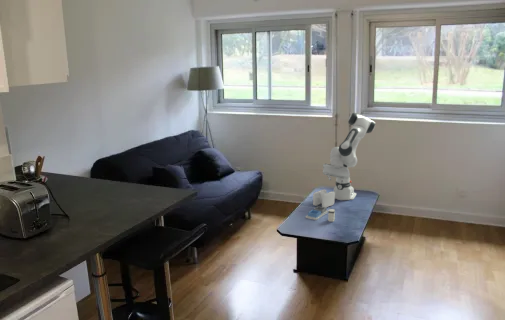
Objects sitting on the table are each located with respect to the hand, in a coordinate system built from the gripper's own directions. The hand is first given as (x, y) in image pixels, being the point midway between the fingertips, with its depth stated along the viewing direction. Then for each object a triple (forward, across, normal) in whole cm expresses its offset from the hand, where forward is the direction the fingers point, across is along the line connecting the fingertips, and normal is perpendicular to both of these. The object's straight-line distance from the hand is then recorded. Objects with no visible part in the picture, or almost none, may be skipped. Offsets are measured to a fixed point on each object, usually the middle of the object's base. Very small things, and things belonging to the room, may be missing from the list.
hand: (336, 181), depth 332 cm
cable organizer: (0, +3, +37) cm, 37 cm away
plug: (+24, +2, +16) cm, 29 cm away
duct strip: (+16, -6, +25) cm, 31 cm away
